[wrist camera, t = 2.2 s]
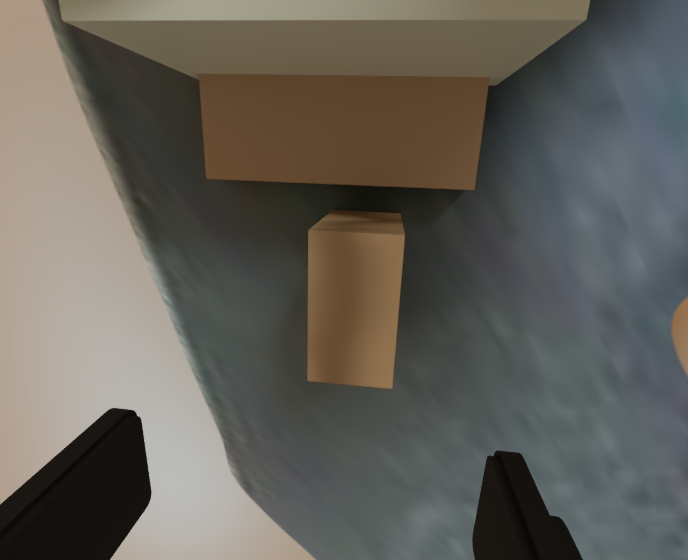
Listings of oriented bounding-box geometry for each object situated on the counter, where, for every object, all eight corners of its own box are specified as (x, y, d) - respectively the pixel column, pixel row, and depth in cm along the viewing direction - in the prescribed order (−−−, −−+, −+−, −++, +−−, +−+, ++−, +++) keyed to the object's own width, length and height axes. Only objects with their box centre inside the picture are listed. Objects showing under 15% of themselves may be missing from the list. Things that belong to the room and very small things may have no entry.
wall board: (500, 50, 24) (599, -50, 13) (481, 188, 27) (549, 207, 15) (199, 49, 26) (52, -40, 15) (208, 177, 29) (88, 186, 17)
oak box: (400, 213, 28) (405, 235, 19) (391, 332, 31) (391, 398, 22) (333, 209, 28) (308, 229, 20) (330, 327, 31) (307, 389, 23)
